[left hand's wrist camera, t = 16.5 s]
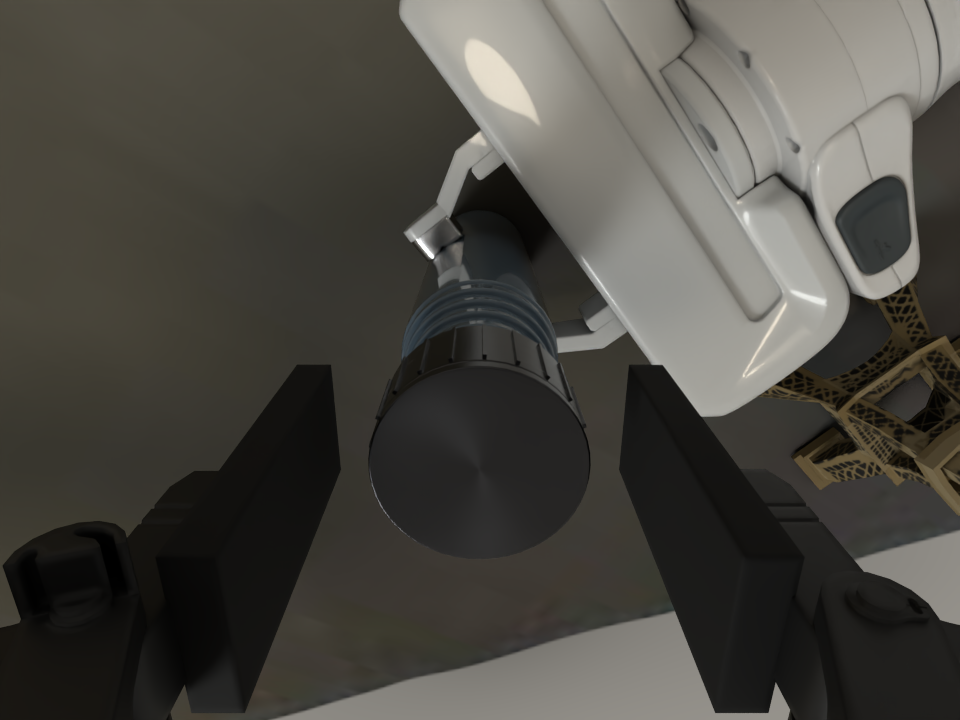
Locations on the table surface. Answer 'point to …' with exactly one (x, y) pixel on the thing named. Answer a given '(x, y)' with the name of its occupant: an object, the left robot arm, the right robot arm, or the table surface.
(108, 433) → the table surface
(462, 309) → the bottle
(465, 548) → the cap
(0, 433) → the table surface
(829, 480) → the eiffel tower
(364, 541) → the table surface
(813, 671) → the left robot arm
